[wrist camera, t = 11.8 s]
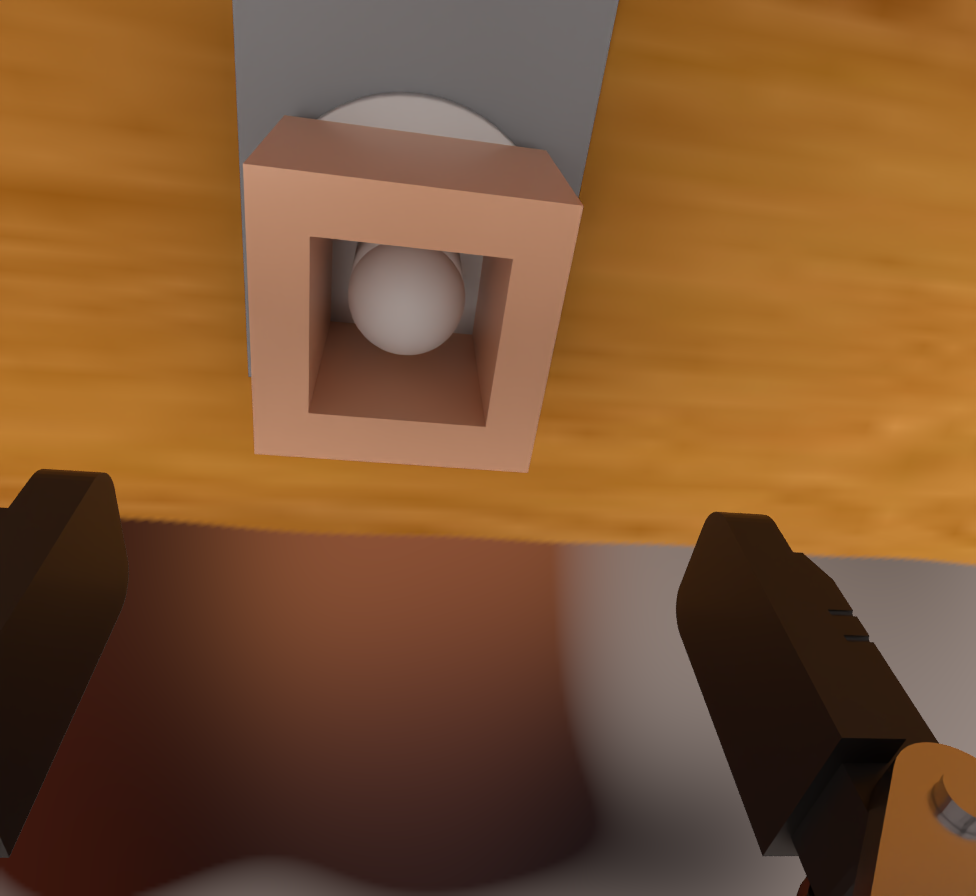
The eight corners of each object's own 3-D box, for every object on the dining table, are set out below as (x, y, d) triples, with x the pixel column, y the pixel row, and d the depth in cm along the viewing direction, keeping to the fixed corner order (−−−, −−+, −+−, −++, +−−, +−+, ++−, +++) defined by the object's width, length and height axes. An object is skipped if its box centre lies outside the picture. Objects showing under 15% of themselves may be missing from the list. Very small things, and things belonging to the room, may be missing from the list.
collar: (284, 114, 17) (242, 163, 13) (545, 150, 18) (583, 205, 14) (287, 355, 21) (254, 454, 17) (507, 375, 22) (527, 472, 18)
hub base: (230, -426, 14) (120, -652, 9) (667, -323, 16) (796, -468, 10) (257, 354, 24) (211, 470, 18) (530, 378, 25) (561, 492, 19)
